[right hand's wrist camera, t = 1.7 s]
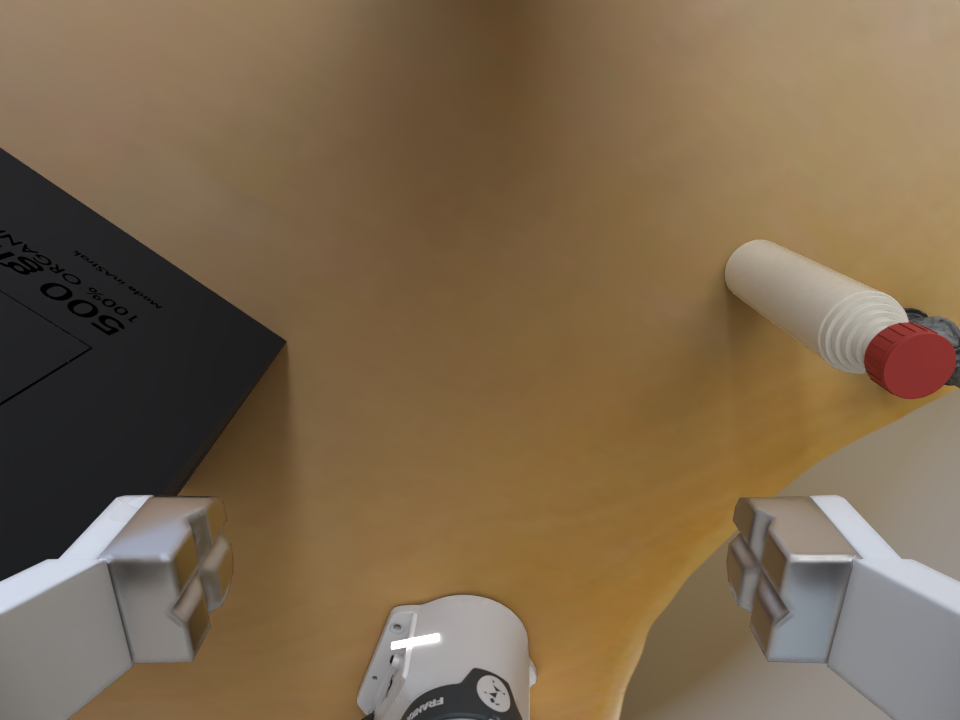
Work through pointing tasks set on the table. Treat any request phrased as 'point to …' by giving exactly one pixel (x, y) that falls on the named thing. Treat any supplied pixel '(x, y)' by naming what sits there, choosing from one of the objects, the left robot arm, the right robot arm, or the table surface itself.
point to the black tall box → (102, 368)
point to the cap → (909, 360)
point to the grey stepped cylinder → (944, 329)
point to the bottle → (812, 302)
